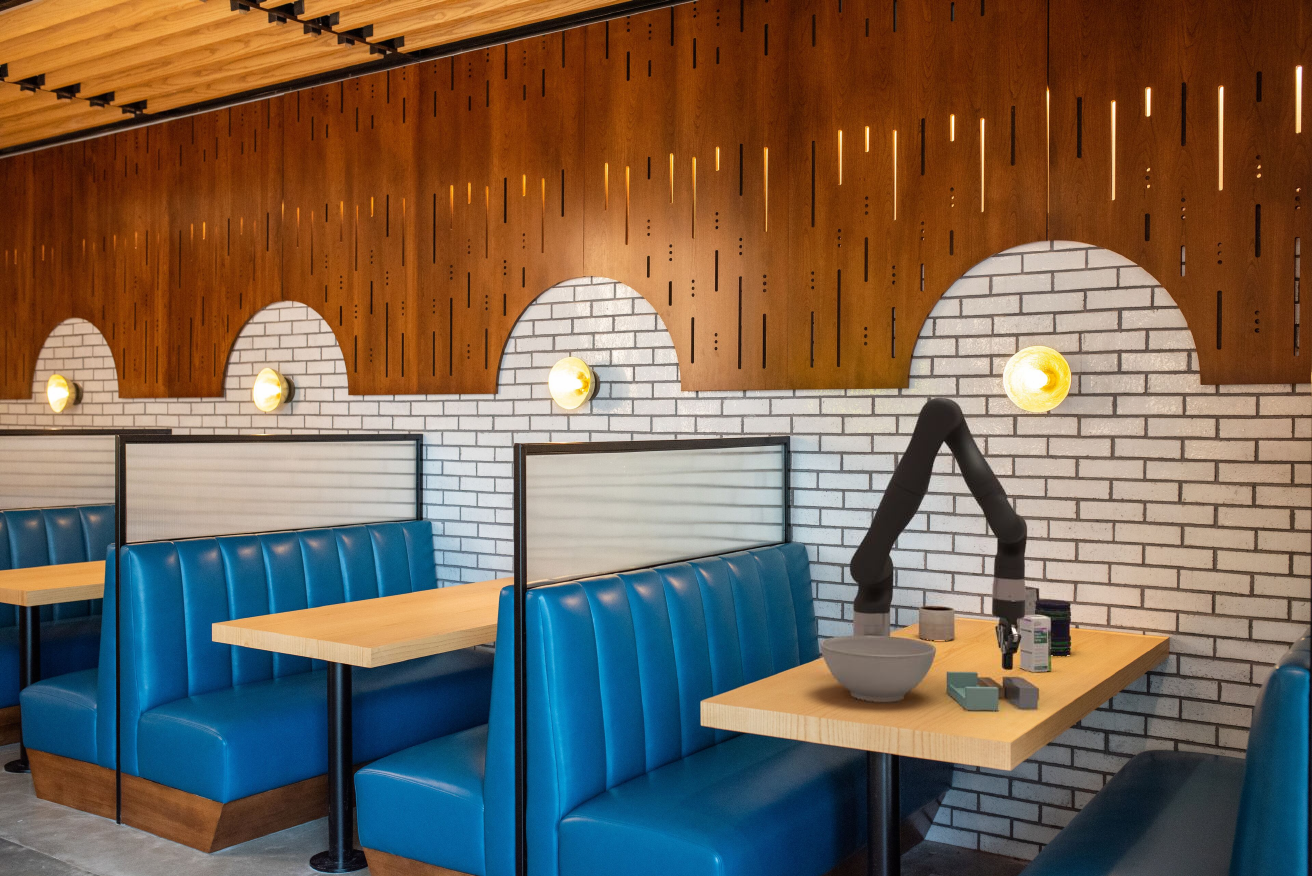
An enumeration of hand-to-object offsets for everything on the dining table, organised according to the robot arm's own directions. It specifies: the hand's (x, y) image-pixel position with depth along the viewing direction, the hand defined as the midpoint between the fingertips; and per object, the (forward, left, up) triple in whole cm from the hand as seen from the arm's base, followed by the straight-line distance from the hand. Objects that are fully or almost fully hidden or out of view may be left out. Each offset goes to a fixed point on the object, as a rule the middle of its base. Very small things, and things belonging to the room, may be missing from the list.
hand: (1007, 669), depth 247 cm
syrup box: (+16, +29, -6) cm, 34 cm away
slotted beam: (0, +1, -6) cm, 6 cm away
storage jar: (+29, +53, -6) cm, 61 cm away
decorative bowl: (-32, -4, -6) cm, 32 cm away
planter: (+1, +76, -6) cm, 76 cm away
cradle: (-11, -8, -6) cm, 14 cm away
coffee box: (+29, +80, -6) cm, 86 cm away
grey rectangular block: (0, -9, -6) cm, 11 cm away
